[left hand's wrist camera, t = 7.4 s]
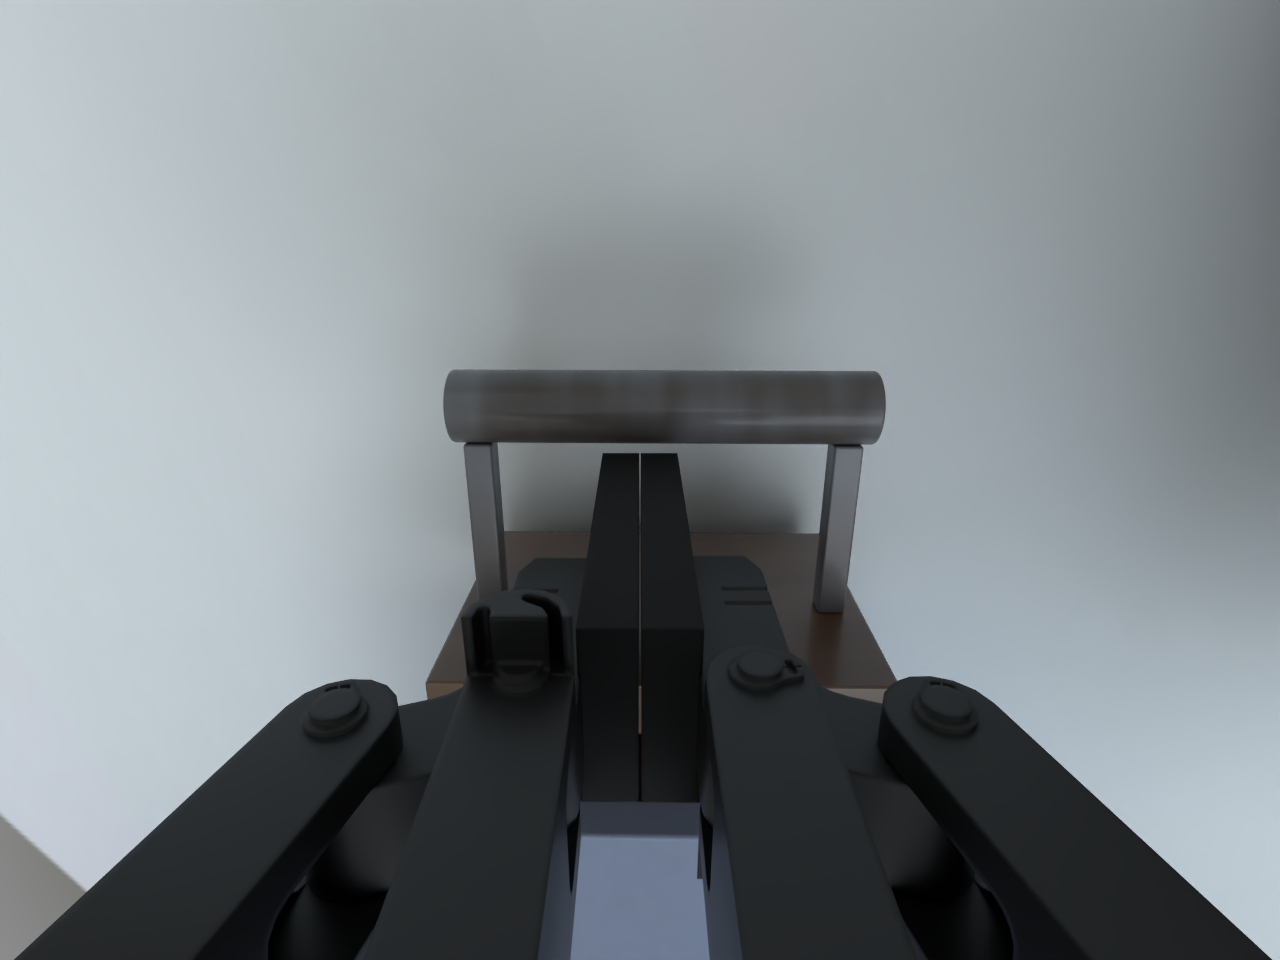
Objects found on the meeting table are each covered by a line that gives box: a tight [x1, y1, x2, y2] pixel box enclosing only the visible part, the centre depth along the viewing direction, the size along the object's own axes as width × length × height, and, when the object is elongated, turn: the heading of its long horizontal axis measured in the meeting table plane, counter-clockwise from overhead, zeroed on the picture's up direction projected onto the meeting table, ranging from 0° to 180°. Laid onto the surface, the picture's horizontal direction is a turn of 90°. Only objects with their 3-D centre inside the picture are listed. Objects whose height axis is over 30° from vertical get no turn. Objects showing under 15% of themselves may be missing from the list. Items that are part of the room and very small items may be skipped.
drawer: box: [426, 370, 897, 802], centre depth 19 cm, size 26×9×7 cm, turn 0°
